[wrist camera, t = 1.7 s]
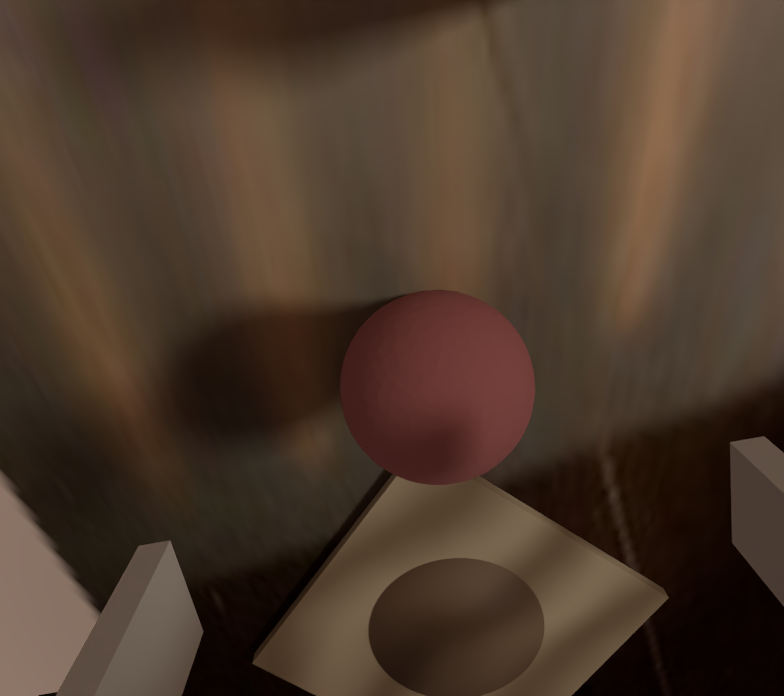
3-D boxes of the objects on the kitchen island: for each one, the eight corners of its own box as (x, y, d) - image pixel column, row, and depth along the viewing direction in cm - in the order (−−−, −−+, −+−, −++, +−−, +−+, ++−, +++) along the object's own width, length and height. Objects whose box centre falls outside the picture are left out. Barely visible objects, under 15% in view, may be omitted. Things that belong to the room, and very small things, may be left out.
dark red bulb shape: (452, 218, 31) (489, 280, 19) (522, 343, 33) (593, 463, 22) (323, 295, 32) (288, 395, 21) (399, 410, 34) (405, 558, 23)
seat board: (662, 588, 38) (669, 598, 37) (484, 769, 42) (486, 781, 42) (418, 439, 35) (419, 447, 34) (254, 652, 39) (252, 664, 38)
